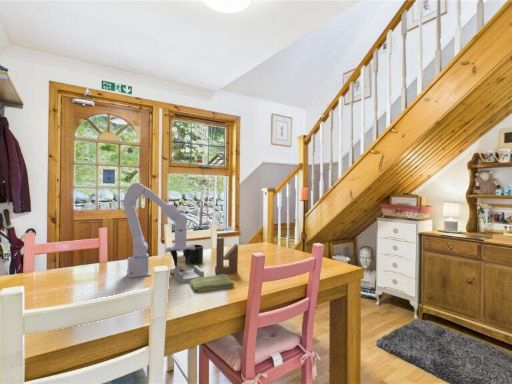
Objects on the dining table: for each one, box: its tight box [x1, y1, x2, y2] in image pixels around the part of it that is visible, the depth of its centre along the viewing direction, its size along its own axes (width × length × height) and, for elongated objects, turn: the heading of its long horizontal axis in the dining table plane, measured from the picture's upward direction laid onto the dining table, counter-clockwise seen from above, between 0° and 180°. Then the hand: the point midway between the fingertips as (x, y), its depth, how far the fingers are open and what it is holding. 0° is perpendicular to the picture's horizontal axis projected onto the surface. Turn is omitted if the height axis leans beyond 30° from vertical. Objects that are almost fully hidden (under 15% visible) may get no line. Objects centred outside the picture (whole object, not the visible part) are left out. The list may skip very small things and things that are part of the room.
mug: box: [186, 244, 204, 265], centre depth 160 cm, size 9×12×9 cm
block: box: [174, 254, 186, 270], centre depth 142 cm, size 4×4×6 cm
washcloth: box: [189, 274, 235, 293], centre depth 125 cm, size 13×18×3 cm
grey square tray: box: [173, 264, 205, 284], centre depth 133 cm, size 11×11×4 cm
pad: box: [169, 266, 192, 276], centre depth 143 cm, size 10×7×1 cm
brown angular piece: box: [214, 236, 239, 275], centre depth 142 cm, size 4×11×18 cm, turn 115°
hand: (180, 265), depth 143 cm, fingers closed on block, 4 cm apart
